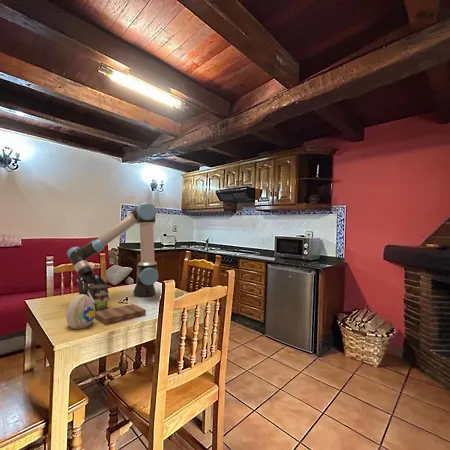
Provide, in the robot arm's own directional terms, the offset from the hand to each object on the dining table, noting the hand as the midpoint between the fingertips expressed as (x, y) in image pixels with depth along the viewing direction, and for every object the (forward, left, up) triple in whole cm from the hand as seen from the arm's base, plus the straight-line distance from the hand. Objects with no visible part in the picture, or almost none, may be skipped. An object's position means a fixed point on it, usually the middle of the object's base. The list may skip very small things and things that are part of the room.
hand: (101, 301), depth 145 cm
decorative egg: (+20, +4, -6) cm, 21 cm away
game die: (-29, -33, -6) cm, 44 cm away
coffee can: (-1, -3, -6) cm, 7 cm away
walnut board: (+3, +14, -6) cm, 16 cm away
